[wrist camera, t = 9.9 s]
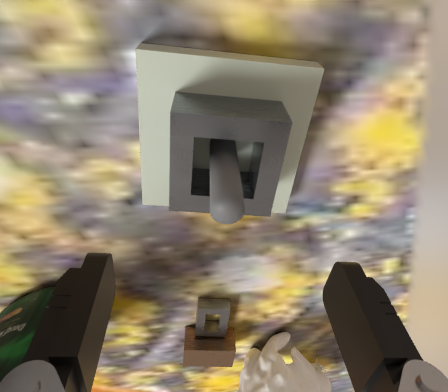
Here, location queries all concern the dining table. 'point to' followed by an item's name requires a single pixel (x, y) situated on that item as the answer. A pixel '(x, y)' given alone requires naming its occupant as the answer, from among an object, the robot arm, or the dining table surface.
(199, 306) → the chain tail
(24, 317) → the coffee jar
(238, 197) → the peg stand
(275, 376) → the white lumpy piece
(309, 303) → the dining table surface
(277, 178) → the link
